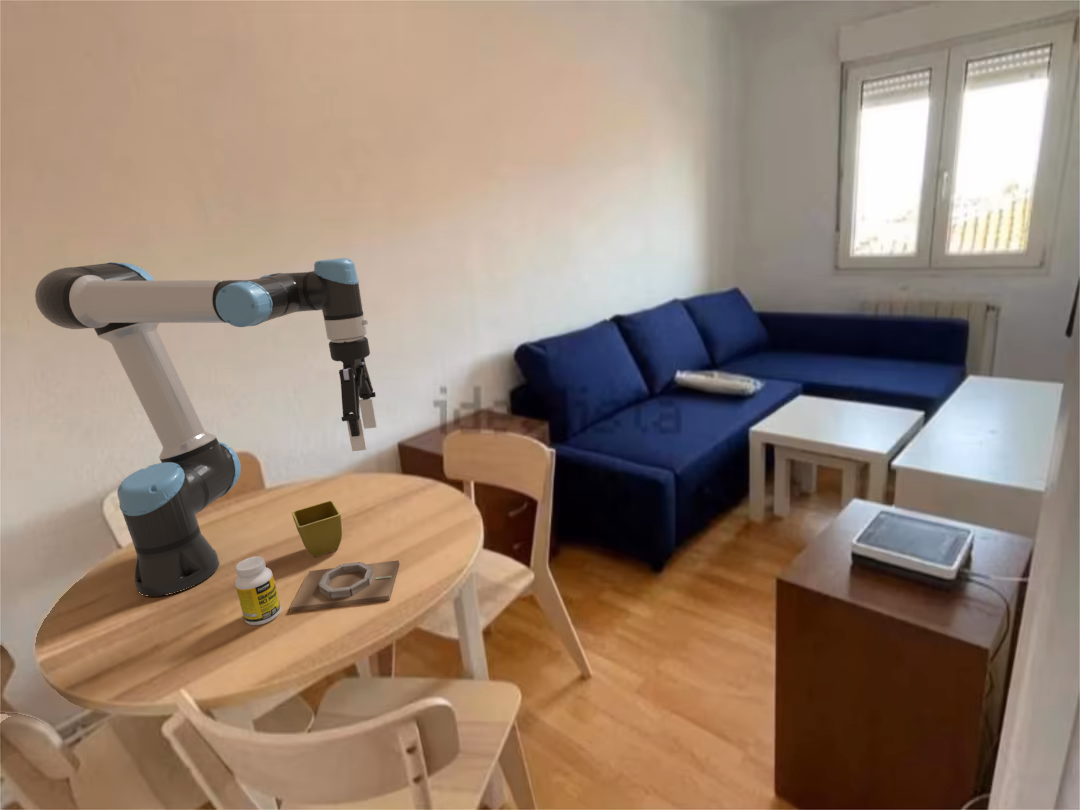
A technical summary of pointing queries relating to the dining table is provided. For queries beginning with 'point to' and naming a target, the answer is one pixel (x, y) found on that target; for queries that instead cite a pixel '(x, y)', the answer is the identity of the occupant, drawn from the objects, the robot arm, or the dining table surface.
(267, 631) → the dining table surface
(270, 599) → the pill bottle
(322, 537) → the flower pot
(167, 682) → the dining table surface
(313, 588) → the collar base
